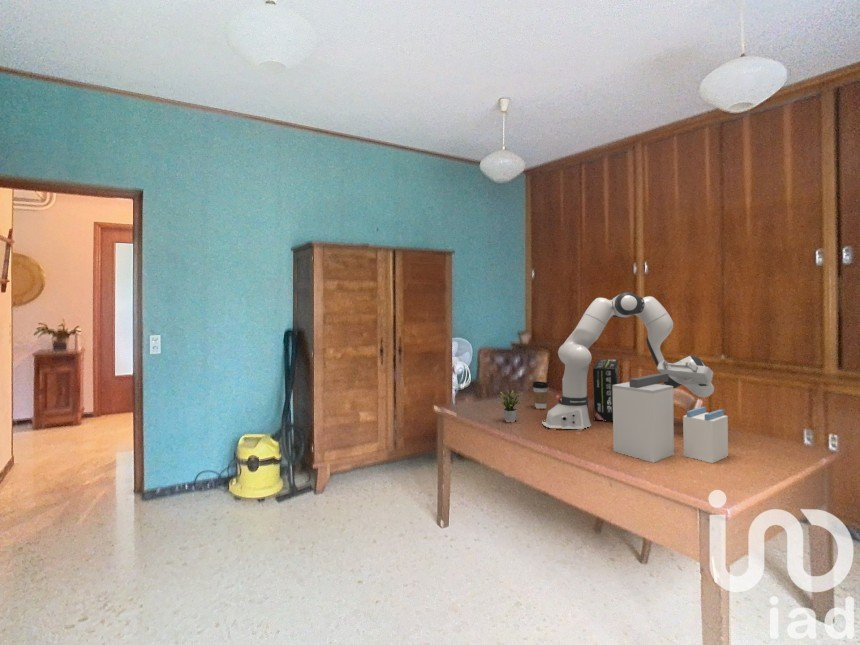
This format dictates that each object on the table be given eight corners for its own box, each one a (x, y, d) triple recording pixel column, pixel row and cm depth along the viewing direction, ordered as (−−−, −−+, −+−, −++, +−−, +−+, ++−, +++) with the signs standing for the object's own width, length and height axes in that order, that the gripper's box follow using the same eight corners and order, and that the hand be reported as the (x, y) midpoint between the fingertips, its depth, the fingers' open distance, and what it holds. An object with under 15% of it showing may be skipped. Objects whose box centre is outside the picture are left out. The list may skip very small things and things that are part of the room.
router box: (598, 406, 253) (597, 358, 252) (619, 407, 248) (618, 359, 247) (593, 421, 220) (592, 367, 219) (617, 423, 216) (616, 367, 215)
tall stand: (634, 444, 182) (633, 380, 181) (674, 454, 169) (673, 386, 168) (613, 451, 174) (612, 385, 174) (653, 462, 161) (652, 390, 160)
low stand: (699, 449, 174) (698, 406, 173) (728, 456, 166) (727, 410, 165) (683, 456, 167) (683, 410, 167) (712, 463, 159) (712, 415, 158)
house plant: (529, 425, 215) (528, 392, 215) (500, 426, 216) (499, 392, 215) (523, 418, 230) (522, 386, 229) (496, 419, 230) (495, 387, 229)
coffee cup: (534, 407, 255) (533, 380, 254) (549, 407, 252) (548, 381, 251) (531, 410, 247) (531, 383, 246) (547, 411, 244) (547, 383, 243)
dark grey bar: (661, 380, 181) (660, 372, 181) (668, 381, 179) (668, 373, 179) (629, 387, 169) (629, 379, 169) (637, 388, 166) (636, 380, 166)
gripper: (667, 367, 201) (652, 354, 194) (717, 372, 184) (703, 357, 177) (664, 380, 199) (648, 367, 192) (714, 386, 182) (699, 372, 175)
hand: (675, 363), depth 184 cm, fingers open, 8 cm apart
